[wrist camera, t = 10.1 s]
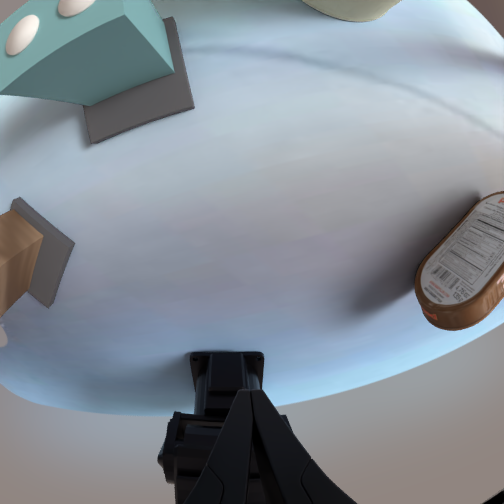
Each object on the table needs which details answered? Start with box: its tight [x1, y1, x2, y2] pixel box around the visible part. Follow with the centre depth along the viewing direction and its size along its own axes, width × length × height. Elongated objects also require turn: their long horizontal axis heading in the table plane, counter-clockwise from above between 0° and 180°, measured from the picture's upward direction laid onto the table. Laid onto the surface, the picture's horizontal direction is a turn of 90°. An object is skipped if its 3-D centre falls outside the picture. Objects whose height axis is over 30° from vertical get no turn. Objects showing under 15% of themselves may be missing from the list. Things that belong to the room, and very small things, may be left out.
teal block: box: [0, 0, 175, 106], centre depth 9 cm, size 4×6×9 cm, turn 103°
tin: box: [415, 191, 504, 331], centre depth 17 cm, size 15×3×8 cm, turn 132°
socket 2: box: [83, 17, 195, 144], centre depth 14 cm, size 7×7×1 cm
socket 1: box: [10, 197, 75, 309], centre depth 18 cm, size 7×7×1 cm
